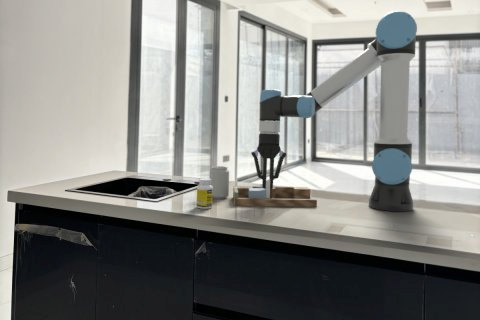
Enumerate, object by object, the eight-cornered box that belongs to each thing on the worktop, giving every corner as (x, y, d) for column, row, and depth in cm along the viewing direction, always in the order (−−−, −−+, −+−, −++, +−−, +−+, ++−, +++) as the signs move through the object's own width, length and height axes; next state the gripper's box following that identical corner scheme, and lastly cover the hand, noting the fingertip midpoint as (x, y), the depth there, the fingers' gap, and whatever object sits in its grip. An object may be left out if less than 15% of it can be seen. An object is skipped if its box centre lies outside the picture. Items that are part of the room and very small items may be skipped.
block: (264, 201, 157) (264, 188, 157) (265, 204, 151) (266, 190, 151) (248, 201, 157) (248, 188, 156) (249, 204, 151) (249, 190, 150)
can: (226, 199, 158) (226, 168, 157) (206, 198, 160) (207, 167, 159) (230, 196, 166) (231, 166, 165) (212, 195, 167) (212, 165, 166)
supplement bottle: (208, 209, 140) (208, 180, 139) (193, 208, 142) (194, 179, 141) (214, 206, 145) (215, 178, 144) (200, 205, 147) (201, 177, 146)
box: (307, 198, 165) (307, 187, 165) (316, 206, 149) (317, 194, 149) (233, 197, 164) (233, 185, 163) (234, 205, 148) (234, 193, 147)
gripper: (285, 133, 156) (283, 195, 158) (250, 132, 155) (248, 195, 158) (288, 133, 149) (286, 199, 151) (252, 132, 148) (250, 198, 150)
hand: (267, 197), depth 154 cm, fingers closed
